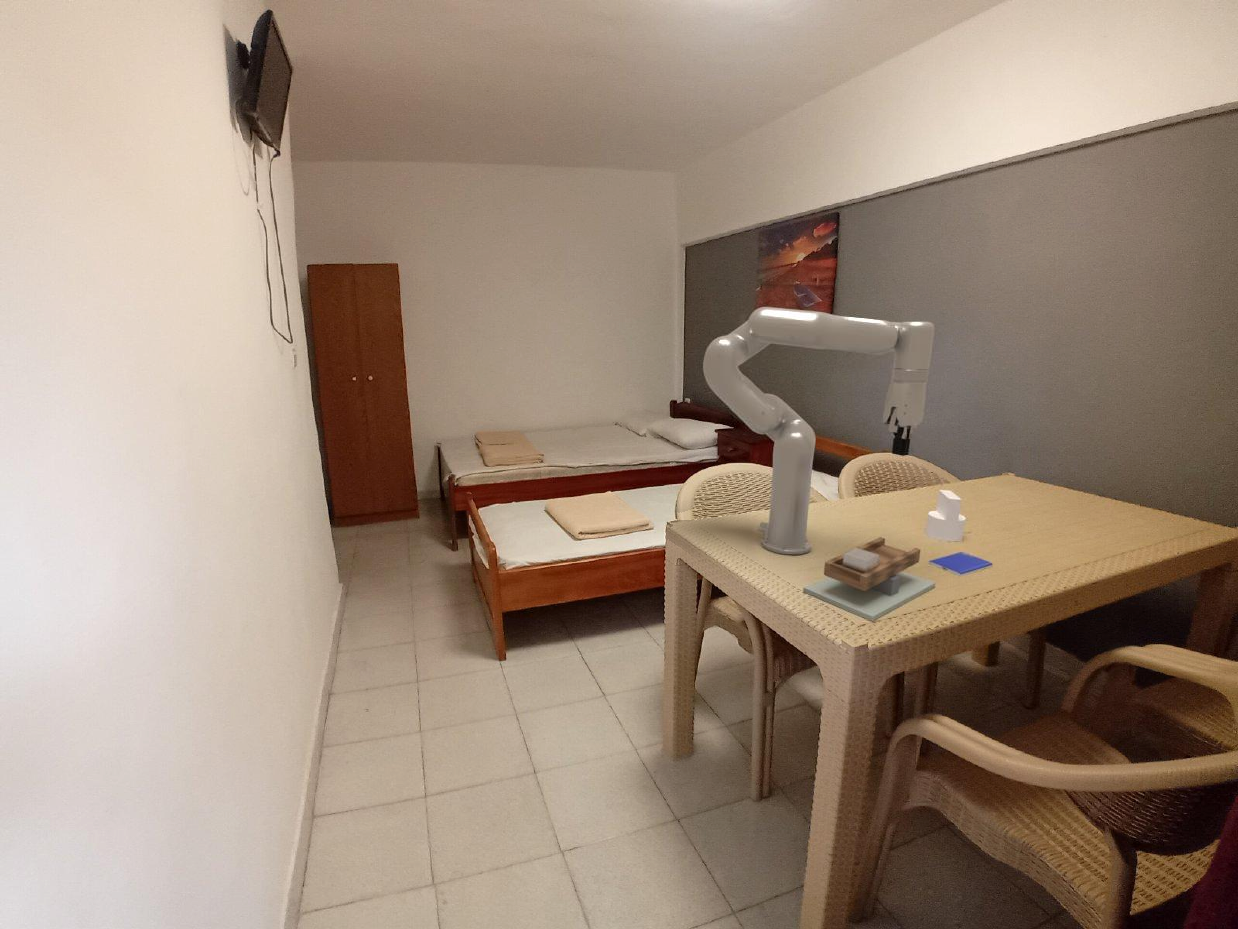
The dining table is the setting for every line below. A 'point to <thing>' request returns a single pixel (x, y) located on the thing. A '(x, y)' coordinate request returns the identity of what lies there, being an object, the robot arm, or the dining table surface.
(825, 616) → the dining table surface
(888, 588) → the beam stand
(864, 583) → the beam
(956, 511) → the base with upright slab
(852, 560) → the steel block
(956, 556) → the hard drive
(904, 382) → the robot arm
